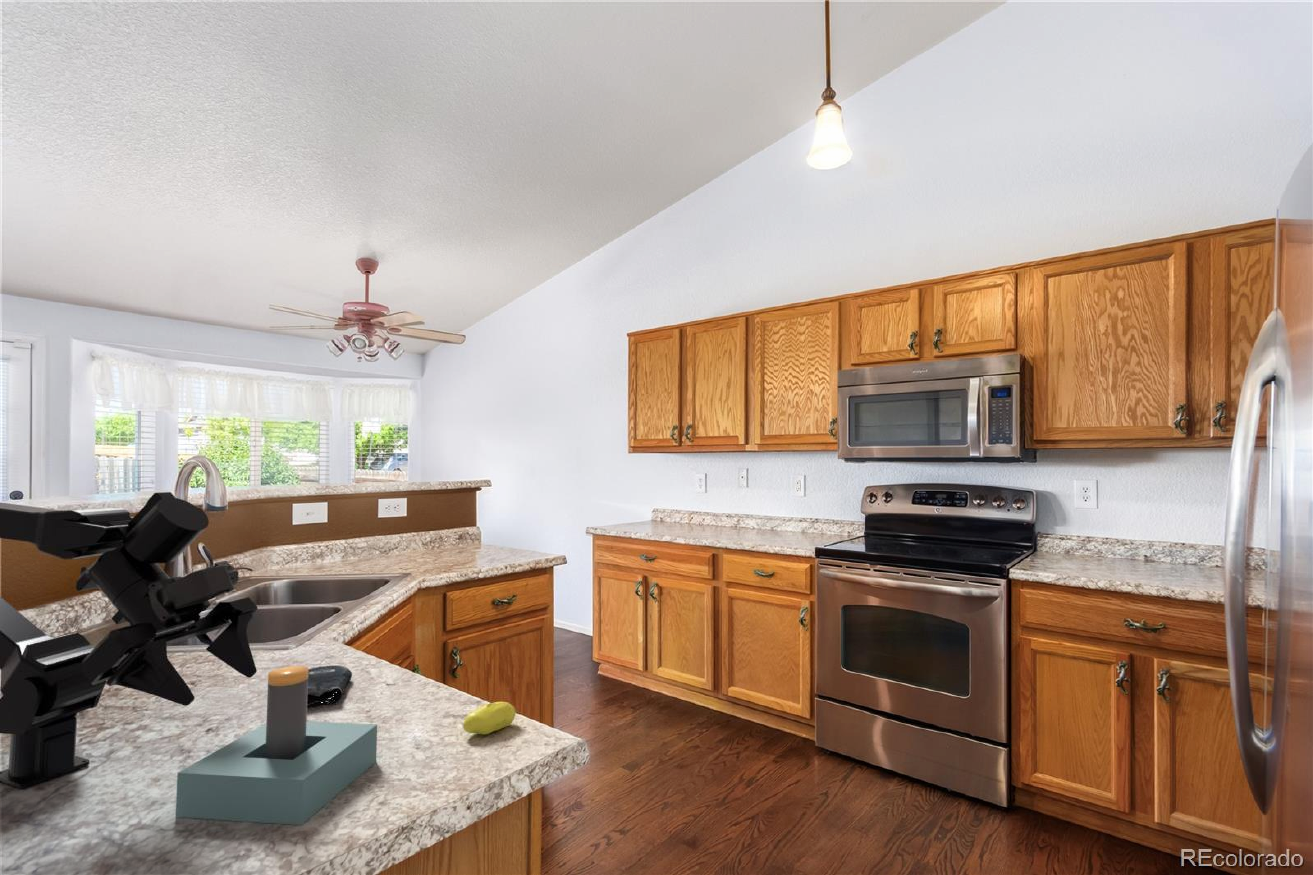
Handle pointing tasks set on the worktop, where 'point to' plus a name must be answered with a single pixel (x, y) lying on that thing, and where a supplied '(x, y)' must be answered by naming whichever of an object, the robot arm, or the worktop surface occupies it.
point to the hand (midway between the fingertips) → (224, 687)
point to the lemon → (489, 718)
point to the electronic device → (327, 682)
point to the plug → (286, 712)
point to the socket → (276, 776)
